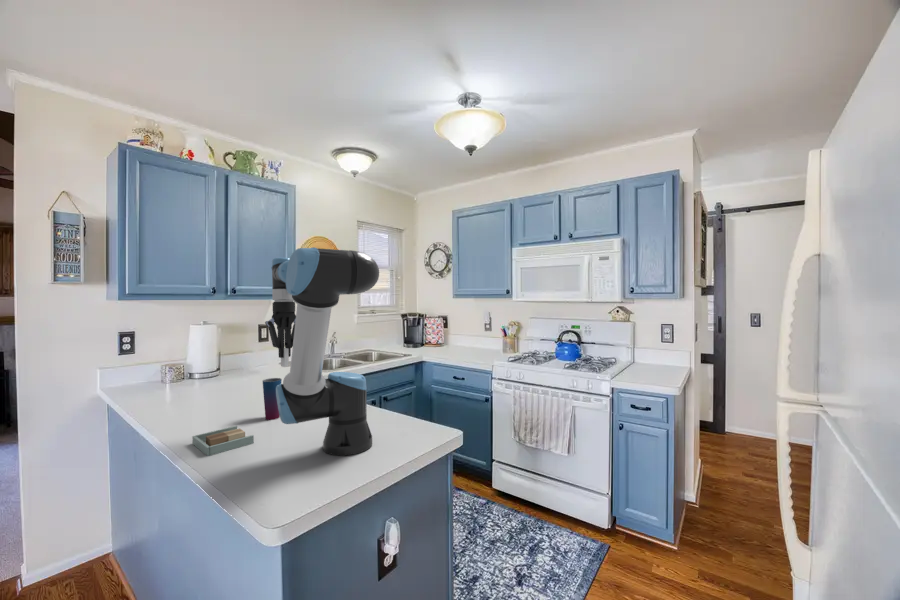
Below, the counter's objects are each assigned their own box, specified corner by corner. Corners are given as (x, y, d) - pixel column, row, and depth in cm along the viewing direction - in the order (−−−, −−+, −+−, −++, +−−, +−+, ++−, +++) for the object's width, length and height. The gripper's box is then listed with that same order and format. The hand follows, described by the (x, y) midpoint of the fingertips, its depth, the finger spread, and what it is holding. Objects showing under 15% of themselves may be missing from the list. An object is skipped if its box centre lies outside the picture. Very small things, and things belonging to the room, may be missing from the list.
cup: (274, 421, 146) (274, 382, 146) (258, 420, 147) (258, 381, 147) (285, 415, 153) (285, 378, 152) (270, 414, 154) (270, 377, 154)
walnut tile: (228, 445, 123) (228, 435, 123) (210, 449, 120) (210, 440, 120) (223, 441, 127) (223, 432, 127) (205, 445, 123) (205, 436, 123)
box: (253, 443, 124) (253, 435, 124) (207, 456, 114) (207, 447, 114) (236, 432, 134) (236, 425, 134) (192, 443, 124) (192, 436, 124)
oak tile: (245, 440, 127) (245, 431, 127) (228, 445, 123) (228, 435, 123) (239, 437, 130) (239, 428, 130) (223, 441, 127) (223, 432, 127)
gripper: (295, 301, 145) (296, 363, 145) (260, 301, 135) (261, 368, 135) (306, 300, 140) (307, 364, 140) (271, 301, 130) (272, 370, 130)
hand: (284, 366), depth 138 cm, fingers closed
